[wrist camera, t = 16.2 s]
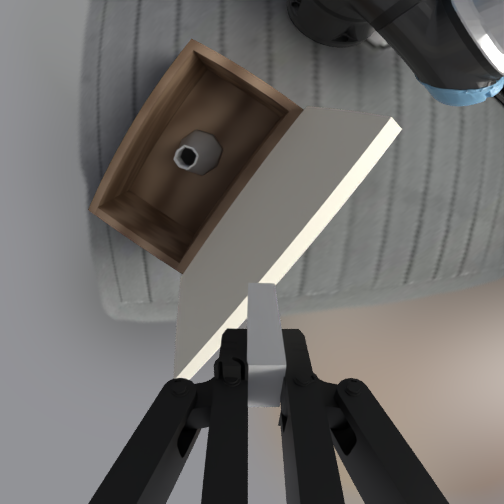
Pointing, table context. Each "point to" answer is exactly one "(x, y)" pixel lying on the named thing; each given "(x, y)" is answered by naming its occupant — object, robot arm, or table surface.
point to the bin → (168, 141)
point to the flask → (198, 152)
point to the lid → (274, 222)
